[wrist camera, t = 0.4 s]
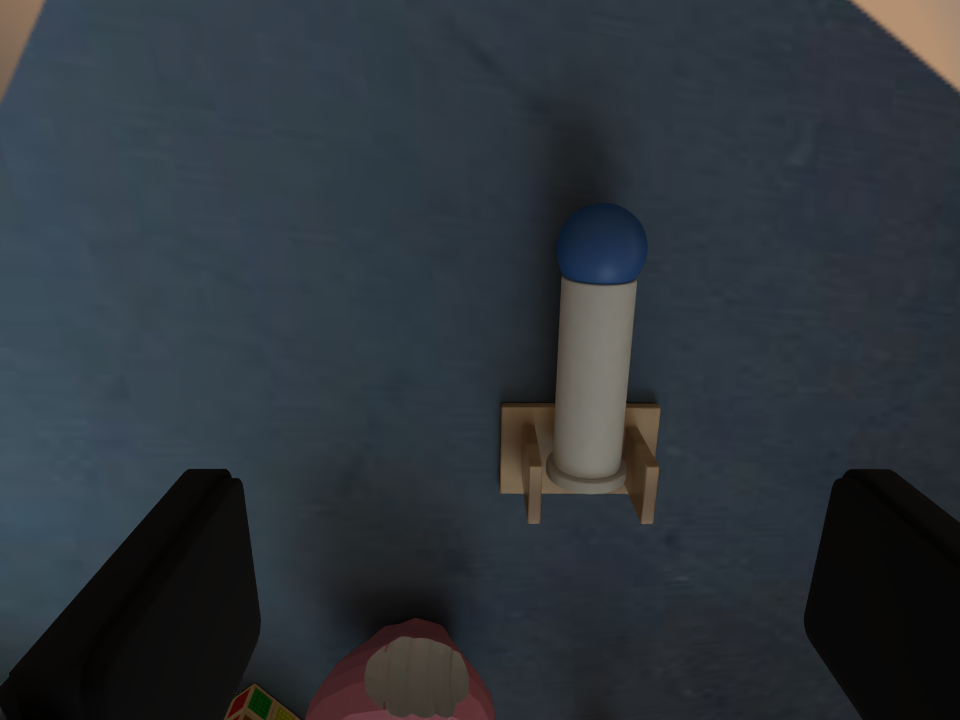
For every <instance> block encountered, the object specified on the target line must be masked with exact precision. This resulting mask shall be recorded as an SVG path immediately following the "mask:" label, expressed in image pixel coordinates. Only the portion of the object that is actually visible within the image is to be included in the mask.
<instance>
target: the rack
mask: <svg viewBox="0 0 960 720" xmlns="http://www.w3.org/2000/svg"><path fill="white" fill-rule="evenodd" d="M660 410H661V408H660V406H659V405H658V404H626V410H625V421H624V432H623V443H622V454H621V458H622V459H623V460H624V462H625V463H626V467H627V471H626V479H625V482H624V483H623V485H622V486H621V487H619V488H618V489H616V490H614V491H611V492H608V493H602V494H628V495H629V497H630V499H631V502H632V504H633V506H634V509H635V511H636V514H637V516H638V518H639V521H640V523H641V524H653V519H654V511H655V502H656V493H657V484H658V476H659V466H658V464H657V462H656V460H655V455H656V446H657V437H658V428H659V419H660ZM554 421H555V403H502V404H501V451H500V493H509V494H524V500H525V508H526V516H527V522H528V523H529V524H539V523H540V517H541V494H582V493H576V492H572V491H569V490H566V489H563V488H561V487H559V486H557V485H556V484H554V483H553V482H552V481H551V480H550V479H549V478H548V476H547V473H546V460H547V457H548V456H549V454H550V453H551V452H553V442H554Z"/></svg>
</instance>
